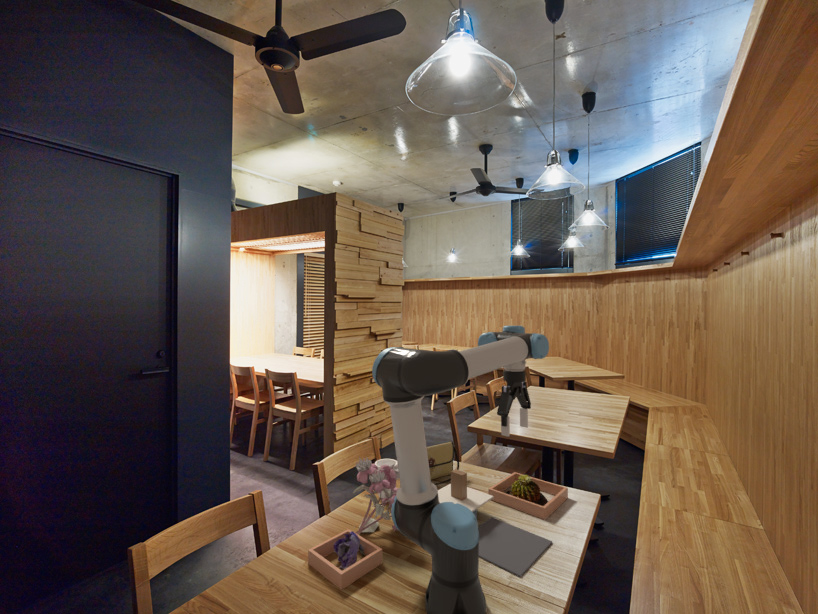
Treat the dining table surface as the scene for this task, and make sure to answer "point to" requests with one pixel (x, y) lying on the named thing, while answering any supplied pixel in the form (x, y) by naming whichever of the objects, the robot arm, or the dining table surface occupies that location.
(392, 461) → the foam cup
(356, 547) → the flower
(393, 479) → the flower
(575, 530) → the dining table surface
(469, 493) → the board
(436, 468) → the clutch purse
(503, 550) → the rubber mat
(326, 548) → the flower tray
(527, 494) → the cactus
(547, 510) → the cactus tray
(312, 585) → the dining table surface
